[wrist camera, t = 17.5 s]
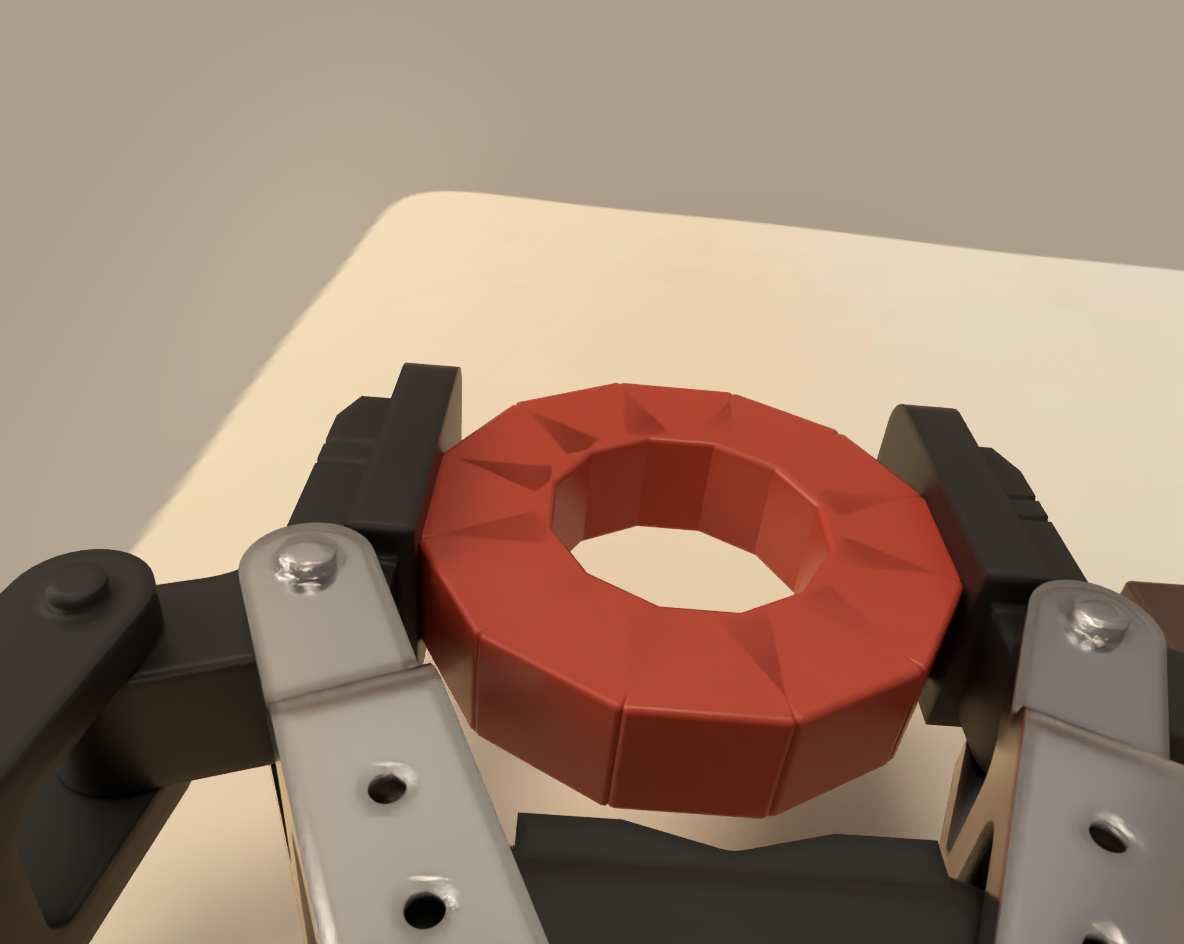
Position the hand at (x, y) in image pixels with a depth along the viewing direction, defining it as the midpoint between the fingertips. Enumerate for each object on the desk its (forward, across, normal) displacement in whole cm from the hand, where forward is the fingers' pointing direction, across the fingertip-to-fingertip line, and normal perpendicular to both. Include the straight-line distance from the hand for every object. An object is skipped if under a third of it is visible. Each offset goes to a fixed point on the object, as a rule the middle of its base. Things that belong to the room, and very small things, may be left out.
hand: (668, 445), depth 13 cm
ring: (-2, 0, 0) cm, 2 cm away
